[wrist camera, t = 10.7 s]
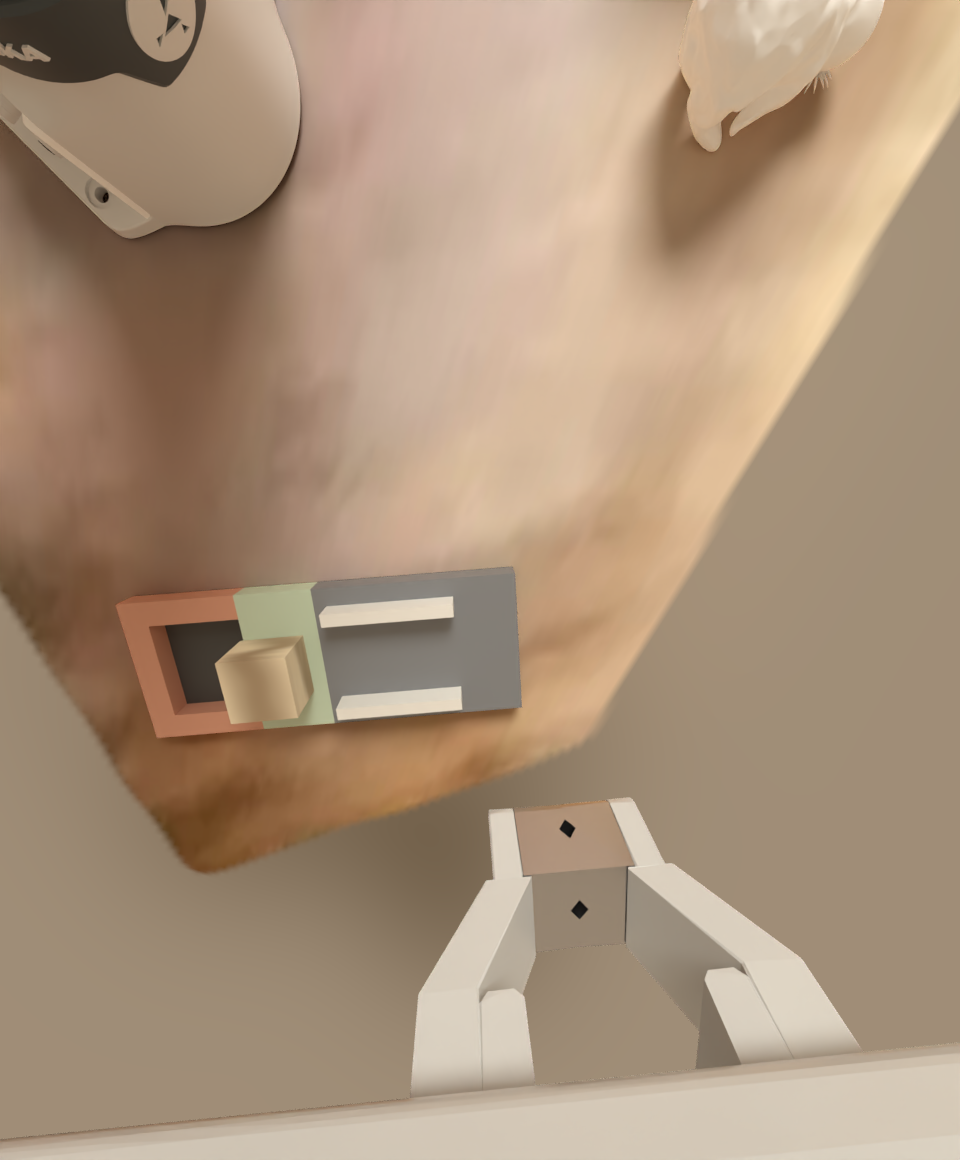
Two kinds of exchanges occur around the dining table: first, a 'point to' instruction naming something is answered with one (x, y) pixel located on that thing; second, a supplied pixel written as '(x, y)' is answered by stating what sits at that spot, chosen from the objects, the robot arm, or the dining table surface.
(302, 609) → the pad
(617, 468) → the dining table surface
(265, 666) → the birch block
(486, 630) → the board
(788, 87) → the white lumpy figurine
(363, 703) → the channel walls
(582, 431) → the dining table surface
